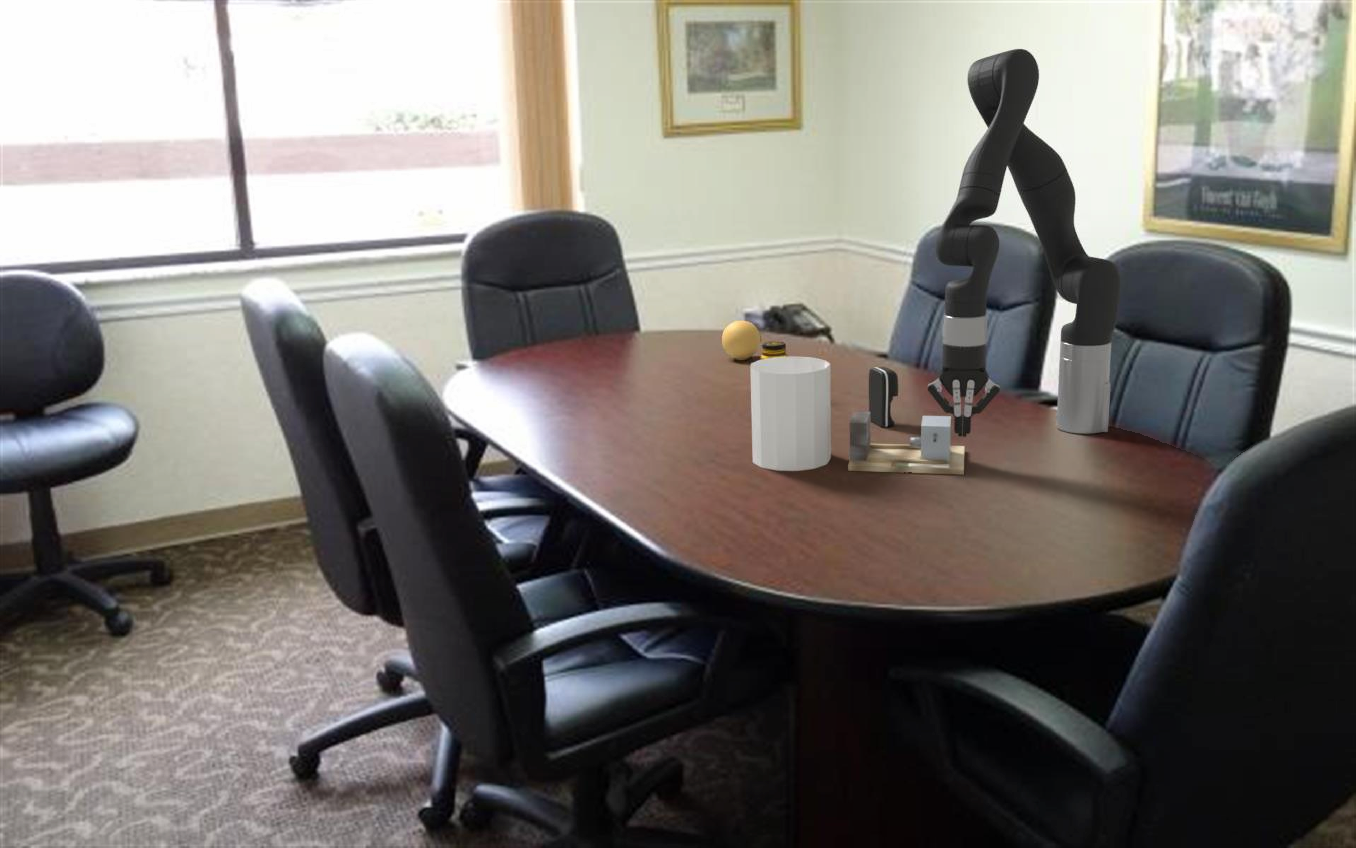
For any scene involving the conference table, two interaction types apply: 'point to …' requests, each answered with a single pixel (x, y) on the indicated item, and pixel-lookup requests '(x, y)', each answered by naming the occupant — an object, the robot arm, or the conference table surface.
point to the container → (791, 413)
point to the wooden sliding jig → (894, 453)
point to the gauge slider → (934, 438)
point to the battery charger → (882, 395)
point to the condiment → (773, 350)
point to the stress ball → (741, 339)
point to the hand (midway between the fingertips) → (962, 435)
